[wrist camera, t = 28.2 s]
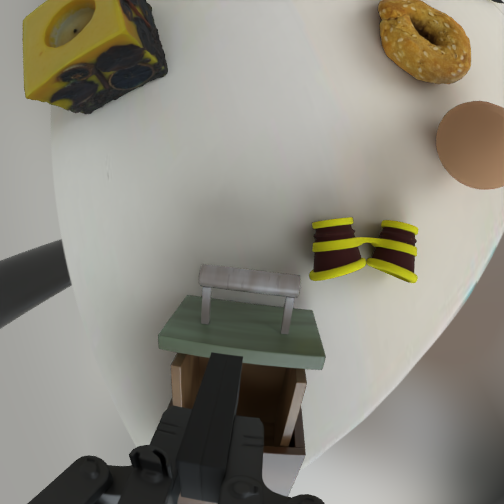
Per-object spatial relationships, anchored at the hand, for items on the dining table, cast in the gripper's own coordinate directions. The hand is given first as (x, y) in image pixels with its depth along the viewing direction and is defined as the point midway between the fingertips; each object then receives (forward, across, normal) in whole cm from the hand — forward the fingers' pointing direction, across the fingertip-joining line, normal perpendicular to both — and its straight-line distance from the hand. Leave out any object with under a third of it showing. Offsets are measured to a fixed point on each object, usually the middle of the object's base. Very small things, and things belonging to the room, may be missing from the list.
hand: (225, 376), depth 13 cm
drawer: (+13, 0, -7) cm, 15 cm away
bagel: (+14, +14, +27) cm, 33 cm away
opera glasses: (+14, +10, +5) cm, 18 cm away
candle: (+15, -16, +22) cm, 30 cm away
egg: (+14, +18, +16) cm, 28 cm away
